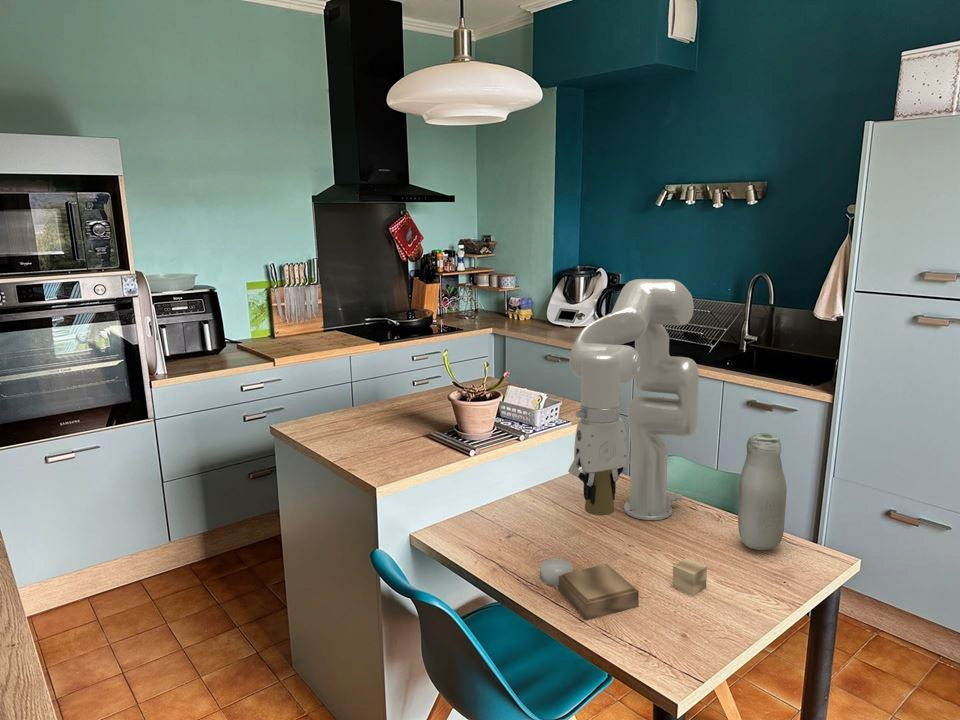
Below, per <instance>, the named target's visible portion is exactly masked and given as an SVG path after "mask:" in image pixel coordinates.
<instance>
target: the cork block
mask: <svg viewBox="0 0 960 720" xmlns="http://www.w3.org/2000/svg"><path fill="white" fill-rule="evenodd" d="M707 574H708V566H707V565H705V564H702V563H700V562H697V561H694V560H692V559H690V558H687V557H686V558H684V559H682V560H681V561H679V562H677V563H675V564H673V566H672V584H671V585H672V588H674V589H676V590H679V591H681V592H683V593H685V594H687V595H689V596H691V597H694V596H696V595H697V594H698V593H700V592H701V591H703V590H704V589H706V588H707V578H708V577H707Z"/></svg>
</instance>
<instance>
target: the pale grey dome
mask: <svg viewBox="0 0 960 720" xmlns="http://www.w3.org/2000/svg"><path fill="white" fill-rule="evenodd" d="M570 572H574V571H573V564H572V562H570V561H569V560H567V559H563V558H558V557H557V558H555V557H554V558H548V559H545V560H544V561H542V562H541V563H540V580H541V579H542V580H541V581H542V582H543V583H544V584H546V585H549V586H553V587H559V576H561V575H563V574H565V573H570Z"/></svg>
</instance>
